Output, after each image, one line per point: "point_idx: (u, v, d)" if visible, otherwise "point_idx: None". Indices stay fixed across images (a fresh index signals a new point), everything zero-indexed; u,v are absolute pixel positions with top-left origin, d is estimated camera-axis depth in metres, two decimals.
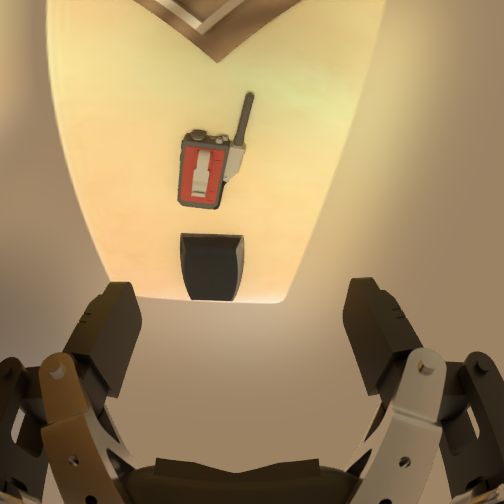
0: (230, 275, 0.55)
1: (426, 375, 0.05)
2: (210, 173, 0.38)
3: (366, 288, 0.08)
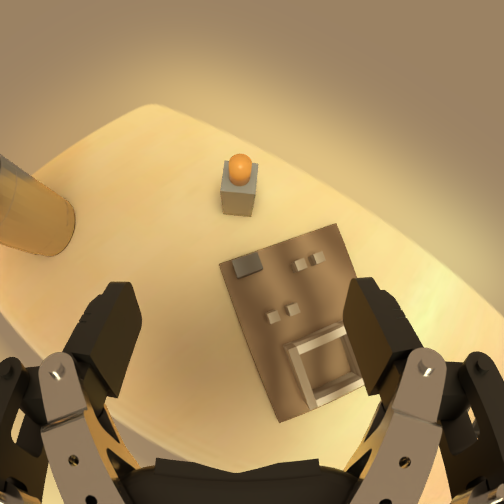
0: None
1: (426, 375, 0.05)
2: None
3: (366, 288, 0.08)
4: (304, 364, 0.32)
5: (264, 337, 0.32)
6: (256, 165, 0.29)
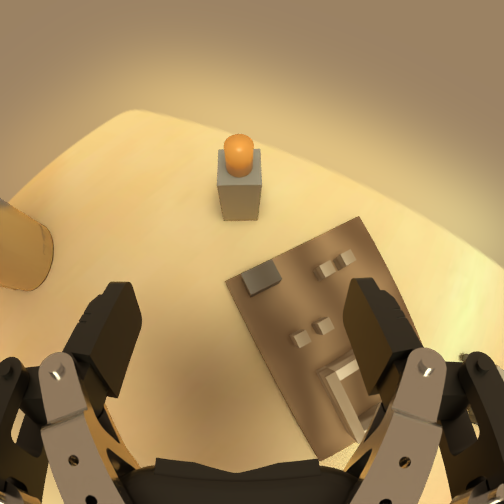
0: None
1: (426, 375, 0.05)
2: None
3: (366, 288, 0.08)
4: (344, 390, 0.24)
5: (292, 365, 0.25)
6: (258, 151, 0.23)
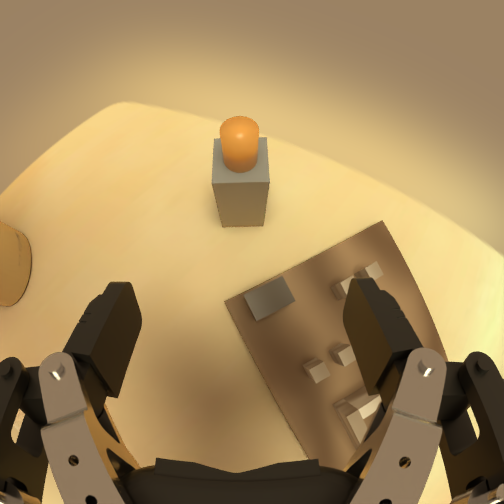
0: None
1: (426, 375, 0.05)
2: None
3: (366, 288, 0.08)
4: None
5: (305, 399, 0.20)
6: (264, 140, 0.18)
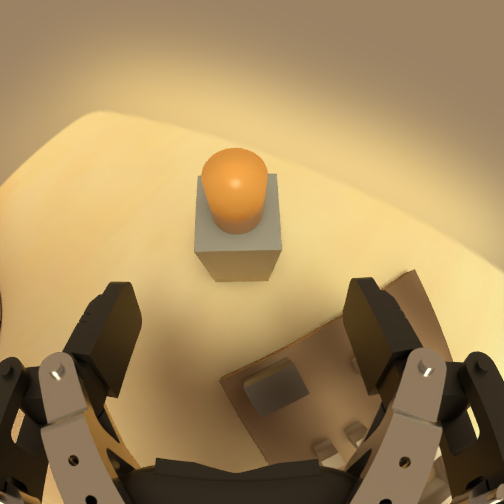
0: None
1: (426, 375, 0.05)
2: None
3: (366, 288, 0.08)
4: None
5: None
6: (273, 178, 0.12)
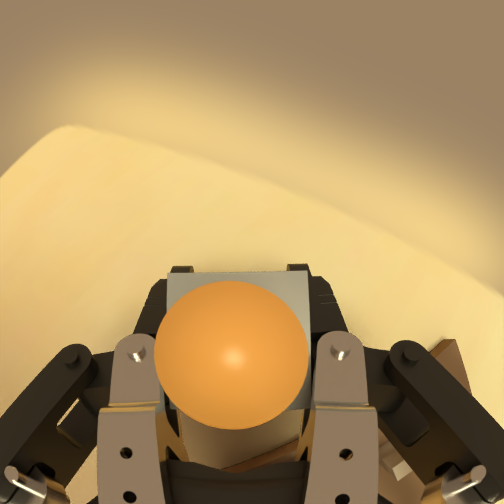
0: None
1: (335, 358, 0.06)
2: None
3: None
4: None
5: None
6: (301, 280, 0.07)
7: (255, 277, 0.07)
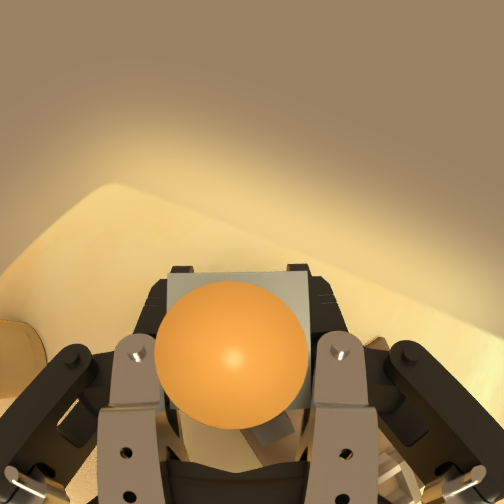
0: None
1: (335, 358, 0.06)
2: None
3: None
4: None
5: None
6: (301, 280, 0.07)
7: (255, 277, 0.07)
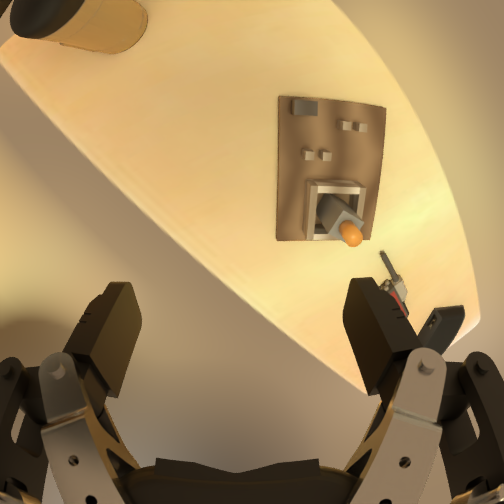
0: (451, 336, 0.56)
1: (426, 375, 0.05)
2: None
3: (366, 288, 0.08)
4: None
5: (294, 167, 0.38)
6: (362, 223, 0.34)
7: (356, 219, 0.33)
